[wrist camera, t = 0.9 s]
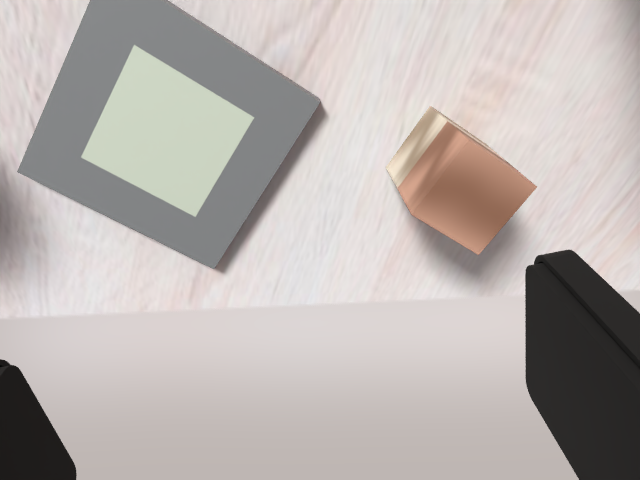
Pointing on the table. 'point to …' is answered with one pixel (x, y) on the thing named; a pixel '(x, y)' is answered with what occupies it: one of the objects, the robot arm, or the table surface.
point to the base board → (165, 126)
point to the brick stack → (457, 181)
